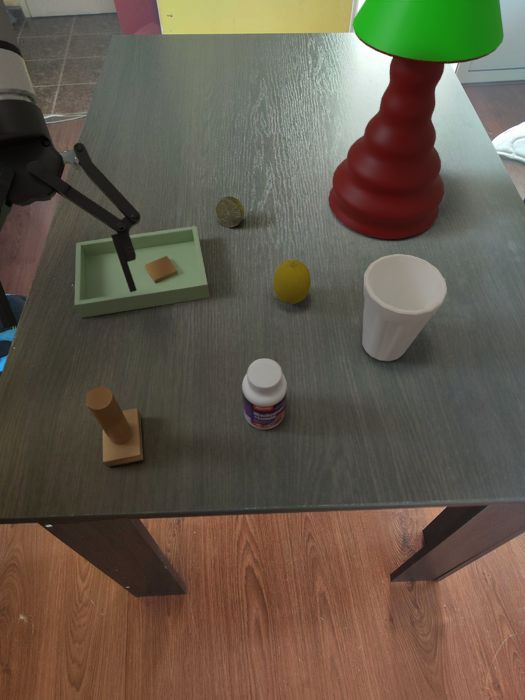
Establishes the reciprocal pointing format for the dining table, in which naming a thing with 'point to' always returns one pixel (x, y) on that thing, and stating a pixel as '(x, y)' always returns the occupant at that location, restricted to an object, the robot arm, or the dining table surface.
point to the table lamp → (408, 111)
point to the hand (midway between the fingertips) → (74, 308)
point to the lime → (229, 211)
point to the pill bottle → (264, 394)
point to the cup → (398, 303)
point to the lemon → (292, 281)
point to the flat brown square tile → (161, 269)
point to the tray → (138, 273)
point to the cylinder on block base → (116, 428)
